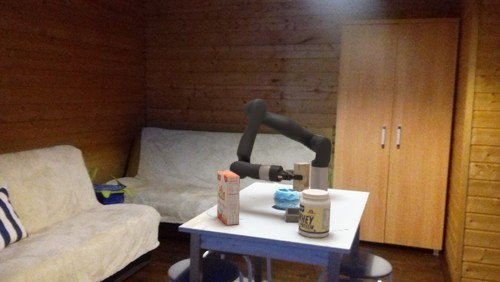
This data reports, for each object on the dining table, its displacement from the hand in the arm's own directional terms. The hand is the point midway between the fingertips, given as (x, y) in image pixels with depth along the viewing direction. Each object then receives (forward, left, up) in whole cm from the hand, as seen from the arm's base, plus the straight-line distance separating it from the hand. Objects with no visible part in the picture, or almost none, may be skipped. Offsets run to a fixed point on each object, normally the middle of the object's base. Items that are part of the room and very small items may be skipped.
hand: (305, 176), depth 187 cm
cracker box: (+6, -33, -20) cm, 39 cm away
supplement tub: (+18, +3, -20) cm, 27 cm away
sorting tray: (-2, -2, -19) cm, 19 cm away
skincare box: (-1, -2, -7) cm, 7 cm away
